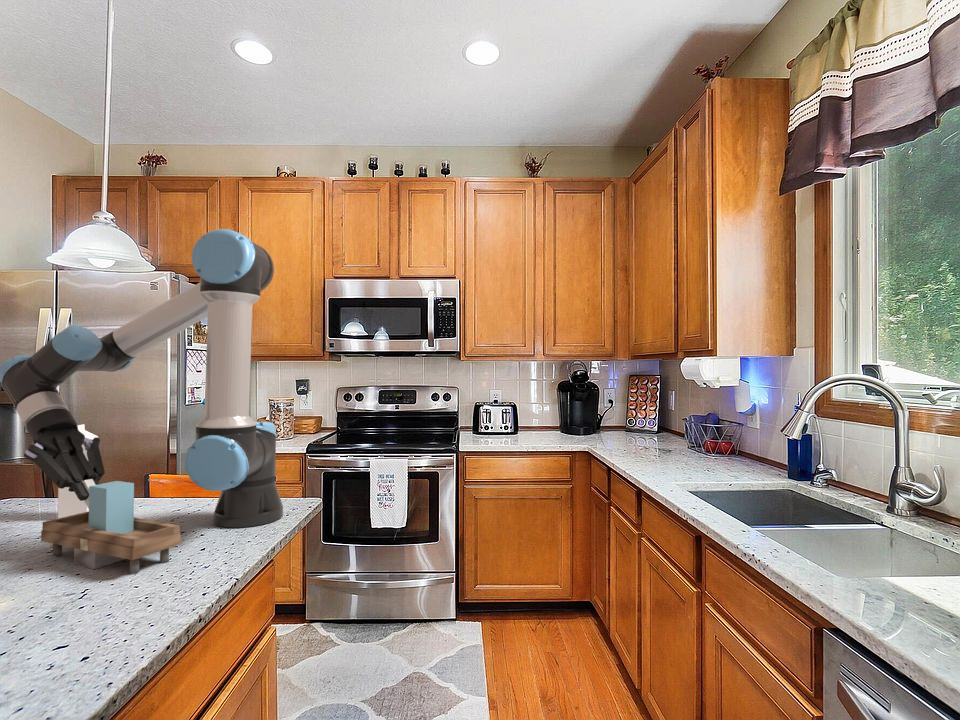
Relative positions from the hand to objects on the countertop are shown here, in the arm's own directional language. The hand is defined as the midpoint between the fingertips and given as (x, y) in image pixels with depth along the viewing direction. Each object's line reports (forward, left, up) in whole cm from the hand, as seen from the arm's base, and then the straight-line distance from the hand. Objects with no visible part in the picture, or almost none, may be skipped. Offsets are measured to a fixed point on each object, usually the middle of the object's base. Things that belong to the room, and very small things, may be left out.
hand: (99, 510), depth 100 cm
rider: (-3, +2, -4) cm, 5 cm away
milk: (+21, -31, -9) cm, 38 cm away
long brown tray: (-3, +1, -9) cm, 9 cm away
